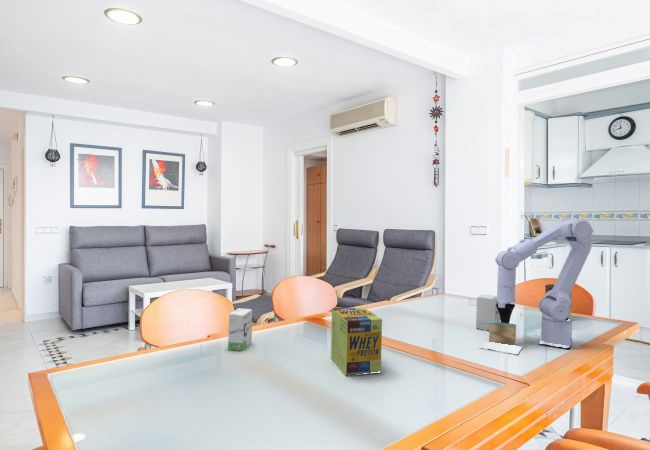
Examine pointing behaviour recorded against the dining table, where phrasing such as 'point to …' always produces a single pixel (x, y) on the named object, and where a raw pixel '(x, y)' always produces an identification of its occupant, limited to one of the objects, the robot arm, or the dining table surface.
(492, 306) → the supplement box
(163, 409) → the dining table surface
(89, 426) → the dining table surface
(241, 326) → the ink box
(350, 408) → the dining table surface
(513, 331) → the slab
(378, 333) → the protein box
